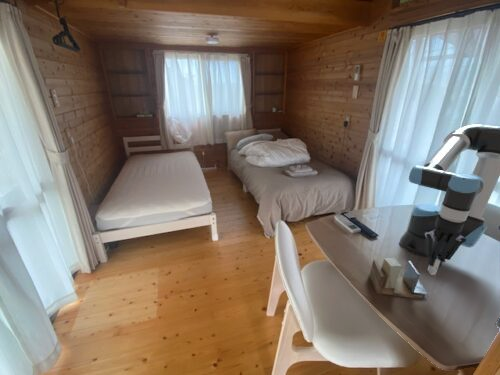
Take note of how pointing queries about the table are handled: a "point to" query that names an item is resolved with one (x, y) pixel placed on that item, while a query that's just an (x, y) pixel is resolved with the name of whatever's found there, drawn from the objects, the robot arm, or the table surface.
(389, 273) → the box
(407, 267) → the bookend
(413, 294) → the rack
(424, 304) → the table surface
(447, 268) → the table surface
